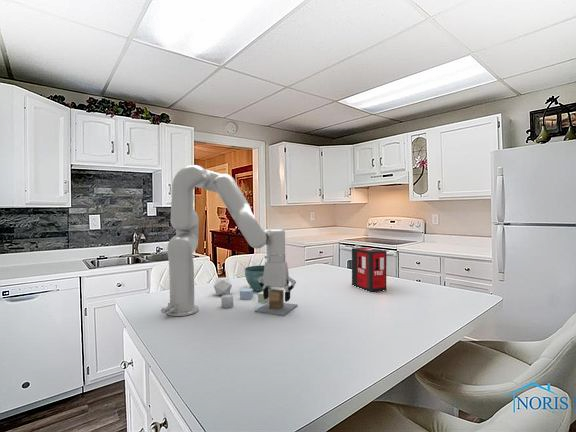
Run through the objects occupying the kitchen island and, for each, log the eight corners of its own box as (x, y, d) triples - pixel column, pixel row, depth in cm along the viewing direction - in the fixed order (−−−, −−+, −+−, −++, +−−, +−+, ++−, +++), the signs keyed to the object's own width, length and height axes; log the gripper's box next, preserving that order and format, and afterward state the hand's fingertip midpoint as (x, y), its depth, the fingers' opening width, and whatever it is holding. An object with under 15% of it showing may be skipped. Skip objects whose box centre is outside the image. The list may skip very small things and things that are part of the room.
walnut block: (279, 309, 132) (279, 292, 132) (269, 308, 134) (269, 291, 134) (283, 306, 136) (283, 289, 136) (273, 305, 138) (273, 288, 138)
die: (225, 299, 152) (236, 280, 156) (208, 290, 152) (220, 271, 156) (225, 300, 160) (235, 282, 164) (209, 292, 160) (220, 274, 164)
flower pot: (271, 294, 158) (271, 271, 158) (240, 292, 162) (240, 270, 161) (279, 286, 174) (279, 265, 174) (250, 284, 177) (250, 265, 177)
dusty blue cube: (250, 300, 149) (250, 291, 149) (239, 299, 149) (239, 291, 149) (253, 297, 154) (253, 288, 154) (242, 296, 154) (242, 288, 154)
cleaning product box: (386, 290, 163) (386, 251, 162) (372, 293, 159) (372, 252, 158) (365, 283, 178) (365, 247, 177) (351, 285, 174) (351, 248, 173)
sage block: (266, 303, 144) (265, 294, 143) (258, 302, 145) (258, 293, 145) (271, 300, 148) (271, 291, 148) (263, 299, 150) (263, 290, 150)
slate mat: (283, 316, 126) (283, 314, 126) (254, 312, 131) (254, 310, 131) (297, 305, 139) (297, 304, 139) (270, 302, 144) (270, 301, 144)
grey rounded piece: (229, 308, 136) (228, 298, 136) (219, 307, 138) (219, 297, 138) (235, 305, 140) (235, 295, 140) (226, 304, 142) (225, 294, 142)
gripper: (253, 258, 135) (254, 299, 135) (291, 261, 128) (292, 304, 128) (262, 256, 142) (262, 295, 142) (299, 258, 135) (299, 299, 135)
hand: (276, 299), depth 135 cm, fingers open, 9 cm apart
